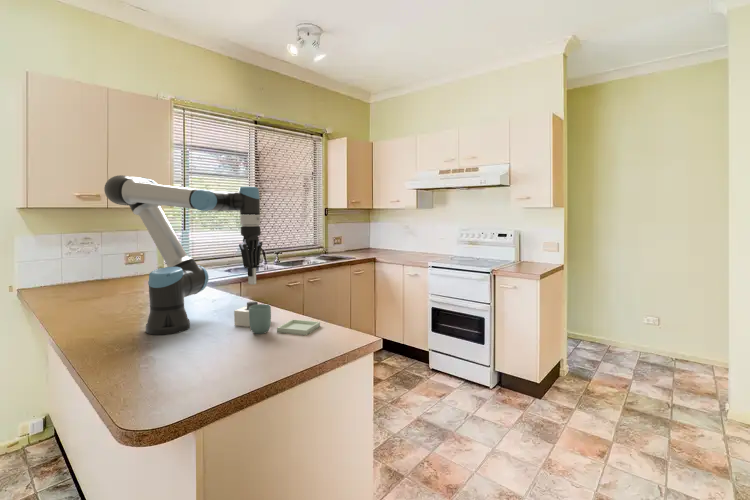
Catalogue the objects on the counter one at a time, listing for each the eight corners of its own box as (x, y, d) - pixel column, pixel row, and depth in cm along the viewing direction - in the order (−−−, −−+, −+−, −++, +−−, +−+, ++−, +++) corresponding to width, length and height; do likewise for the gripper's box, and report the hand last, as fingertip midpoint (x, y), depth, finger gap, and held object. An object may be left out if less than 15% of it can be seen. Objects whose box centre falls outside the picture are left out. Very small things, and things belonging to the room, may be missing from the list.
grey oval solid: (245, 317, 158) (244, 303, 158) (251, 315, 162) (250, 301, 162) (254, 318, 157) (253, 304, 157) (259, 316, 161) (259, 301, 161)
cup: (265, 336, 143) (264, 309, 142) (245, 334, 145) (245, 308, 144) (274, 330, 151) (274, 304, 150) (256, 328, 152) (255, 303, 151)
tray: (277, 332, 148) (276, 327, 148) (292, 323, 160) (292, 319, 159) (306, 335, 145) (306, 330, 144) (320, 326, 156) (320, 321, 156)
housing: (234, 325, 157) (234, 310, 156) (249, 318, 166) (248, 305, 166) (256, 327, 154) (256, 312, 153) (270, 320, 163) (269, 306, 163)
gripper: (249, 226, 149) (251, 287, 151) (267, 225, 162) (269, 281, 164) (232, 226, 151) (234, 286, 153) (251, 225, 164) (253, 280, 166)
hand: (252, 284), depth 159 cm, fingers closed
